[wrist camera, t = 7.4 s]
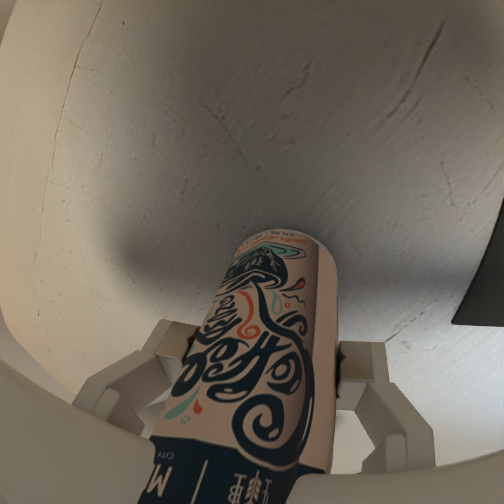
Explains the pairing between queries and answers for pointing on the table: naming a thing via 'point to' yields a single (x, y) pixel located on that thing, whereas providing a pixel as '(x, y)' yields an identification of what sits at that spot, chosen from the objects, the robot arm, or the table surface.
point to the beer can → (254, 381)
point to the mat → (486, 286)
